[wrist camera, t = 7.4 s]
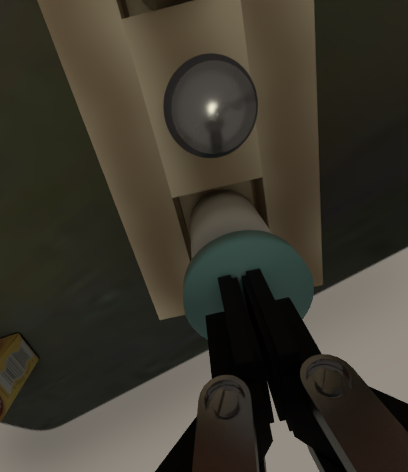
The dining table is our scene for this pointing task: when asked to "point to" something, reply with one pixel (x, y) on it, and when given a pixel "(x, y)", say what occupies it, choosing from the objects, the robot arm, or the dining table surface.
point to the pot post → (210, 105)
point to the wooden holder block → (162, 143)
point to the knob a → (163, 3)
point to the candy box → (14, 368)
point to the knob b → (238, 257)
